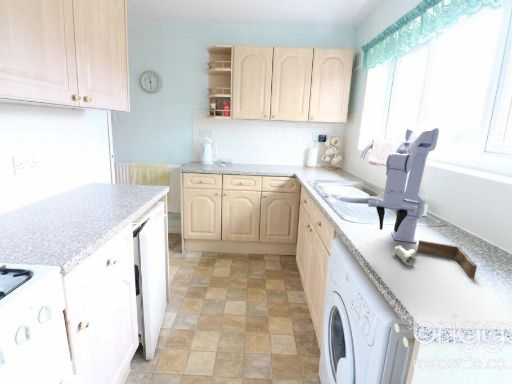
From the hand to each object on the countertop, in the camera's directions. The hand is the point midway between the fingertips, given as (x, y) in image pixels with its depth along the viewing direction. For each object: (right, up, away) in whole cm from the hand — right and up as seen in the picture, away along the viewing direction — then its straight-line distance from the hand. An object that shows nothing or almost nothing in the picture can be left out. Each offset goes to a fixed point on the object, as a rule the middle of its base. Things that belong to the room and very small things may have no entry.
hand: (388, 229), depth 96 cm
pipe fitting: (+6, -11, 0) cm, 12 cm away
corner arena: (+18, -11, -1) cm, 21 cm away
